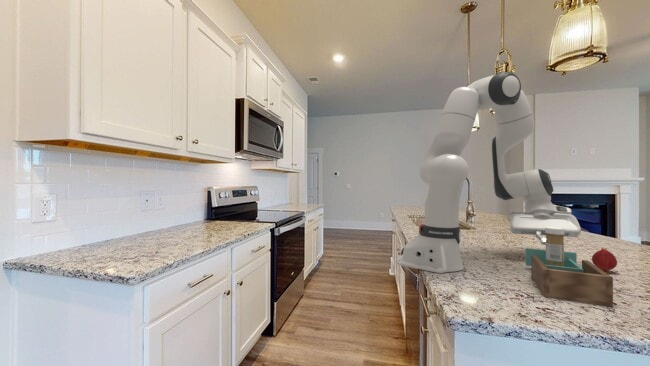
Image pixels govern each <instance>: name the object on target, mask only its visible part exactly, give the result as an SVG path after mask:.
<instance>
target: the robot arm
mask: <svg viewBox="0 0 650 366" xmlns="http://www.w3.org/2000/svg"><path fill="white" fill-rule="evenodd" d="M490 109H491V110H492V111H493V112H494V116H495V120H496V125H497V133H496V136H494V137H493V138H492V140H491V155H492V156H491V158H492V159H491V160H492V167H493V169H492V170H493V171H492V172H493V182H492V183H493V184H492V189H493V192H494V194H495V196H496V197H497V198H499V199H501V200H504V201H508V200H509V201H510V200H513V199H517V198H522V199H523V202H524V211H525V212H523V211H522V212H518V211H517V212H516V211H513V212H511V213H508V214H507V219H508V221H509V222H510V223H509V230H510V233H512V234H514V235H515V234H517V235H529V236H530V235H532V236H535V238H536V239H537V240H538V241H539V242H540V245H545V246H546V233H545V227H560V228H564V236H563V237H565V238H578V237H579V236H580V235H581V233H582V228H581V225H580V223H579V221H578V219H577V217H576V216H575V215H573V214H572V211H573V210H572V209H571V208H569V207H565V206H561V205H556V204H553V202H552V201H551V200H552V196H551V195H552V194H553V192H554V187H553V185H552V178H551V176H550V173H548V172H547V171H546V170H543V169H541V168H540V169H539V168H535V169H531V170H530V169H529V170H524V171H522V172H521V171H519V172H515V173H510V174H508V173H506V169H505V168H506V167H505V165H506V164H505V155H506V153H508V151H509V150H510V149H512V148H513V147H515V146H517V145H518V144H521V143H522V142H523V141H525V140H526V139H527V138H528V137H530V135H532V133H533V131H534V129H535V119H534V113H533V111H532V108H531V105H530V102H529V99H528V98H527V96H526V94H525V91H524V90H522V84H521V79H519V77H518V76H517V75H516V74H515V73H514V72H511V71H503V72H498V73H495V74H494V75H493V74H492V75H489V76H485V77H483V78H480V79H477V80H476V81H474V82H470V83H468V84H467V85H465V86H460V87H457V88H455V89H454V90H452V91H451V93H450V95H449V97H448V98H447V100H446V102H445V105H444V107H443V109H442V113H441V116H440V120H439V122H438V125H437V128H436V132H435V135H434V138H433V140H432V142H431V144H430V146H429V149H428V151H427V152H426V155H425V157H424V160H423V162H422V164H421V166H420V168H419V177H420V179H421V180H422V181H423V182H424V183H425V184H427V185H428V192H427V196H426V199H425V202H424V223H421V224H420V225H419V227H418V235H417V236H415V237H414V238H413V239H411V240H409V241H408V242H407V243H406V244H405V245H404V247H403V251H402V254H400V255H399V256H398V257H397V258H396V264H397V265H398V266H403V267H405V268H406V267H407V268H412V269H416V270H417V269H418V270H422V271H426V272H432V273H436V274H444V273H449V272H450V273H451V272H452V273H453V272H460V271H462V270H464V269H465V267H464V262H463V260H462V259H463V258H462V255H461V247H460V243H461V226H459V225H460V223H459V222H460V221H459V219H460V218H459V216H460V214H459V213H460V210H459V209H460V200H461V194H462V191H463V186H464V183H465V180H466V179H467V177H468V175H469V172H470V171H469V170H470V169H469V164H468V163H467V162H468V161H466V160H465V159H464V157H461V154H462V153H463V151H464V149H465V148H466V147H467V145H468V143H469V141H470V138H471V134H472V131H473V127H474V125H475V122H476V118H477V114H478V111H482V110H483V111H484V110H490ZM543 236H544V237H543Z"/></svg>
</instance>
